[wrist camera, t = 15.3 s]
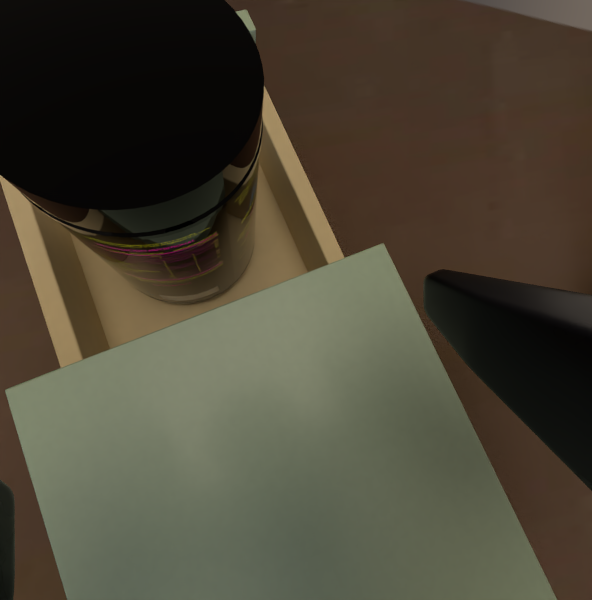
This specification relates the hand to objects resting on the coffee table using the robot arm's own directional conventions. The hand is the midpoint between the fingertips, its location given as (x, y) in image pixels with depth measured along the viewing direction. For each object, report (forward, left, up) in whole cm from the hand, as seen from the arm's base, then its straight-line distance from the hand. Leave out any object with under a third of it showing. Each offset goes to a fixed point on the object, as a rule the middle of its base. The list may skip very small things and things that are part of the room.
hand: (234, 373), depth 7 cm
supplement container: (+7, +1, -11) cm, 13 cm away
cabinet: (-6, -1, -12) cm, 14 cm away
